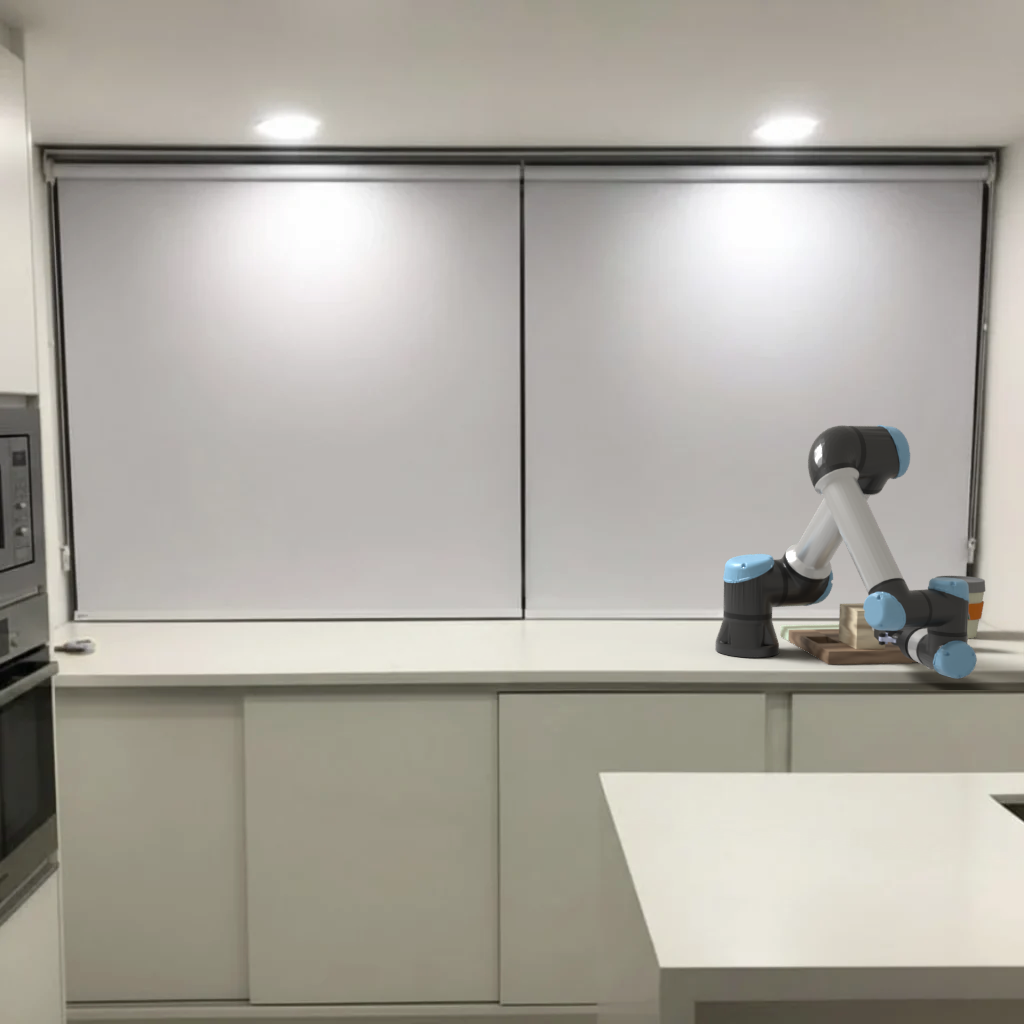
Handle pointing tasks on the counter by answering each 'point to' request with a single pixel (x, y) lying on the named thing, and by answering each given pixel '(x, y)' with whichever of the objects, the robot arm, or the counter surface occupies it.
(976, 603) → the reusable coffee cup
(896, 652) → the board
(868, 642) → the block
